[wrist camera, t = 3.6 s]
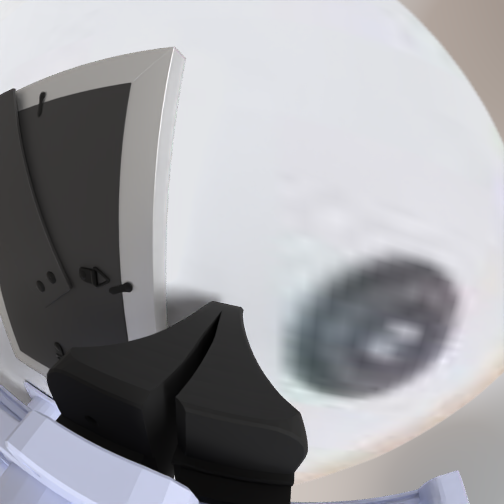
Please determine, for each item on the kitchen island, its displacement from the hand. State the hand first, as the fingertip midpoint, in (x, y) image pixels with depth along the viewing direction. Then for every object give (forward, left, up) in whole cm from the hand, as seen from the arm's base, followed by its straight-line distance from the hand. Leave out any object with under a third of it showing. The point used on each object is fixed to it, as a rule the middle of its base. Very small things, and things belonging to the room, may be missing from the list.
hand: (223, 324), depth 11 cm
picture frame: (0, +11, -2) cm, 11 cm away
